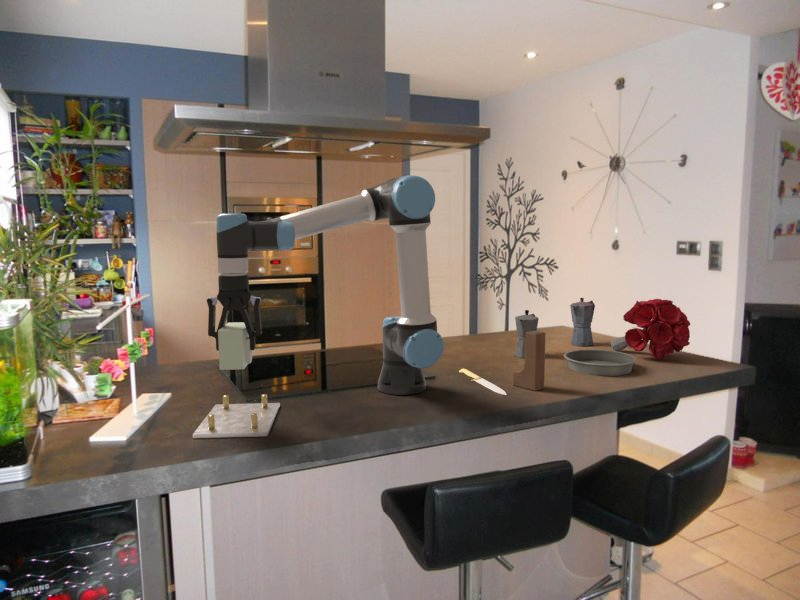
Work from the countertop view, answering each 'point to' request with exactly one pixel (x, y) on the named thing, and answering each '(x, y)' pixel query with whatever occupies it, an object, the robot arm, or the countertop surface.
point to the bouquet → (655, 328)
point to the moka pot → (582, 322)
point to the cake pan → (600, 362)
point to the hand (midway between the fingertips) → (236, 362)
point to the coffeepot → (524, 331)
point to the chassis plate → (238, 420)
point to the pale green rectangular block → (233, 346)
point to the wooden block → (532, 363)
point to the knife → (483, 382)
